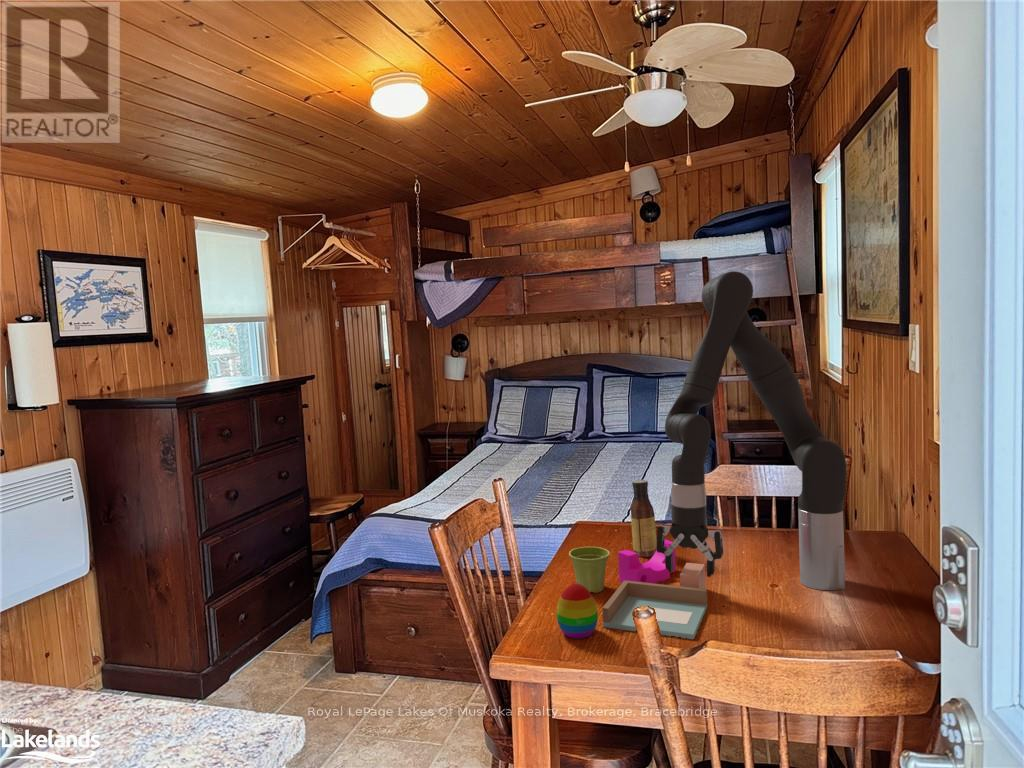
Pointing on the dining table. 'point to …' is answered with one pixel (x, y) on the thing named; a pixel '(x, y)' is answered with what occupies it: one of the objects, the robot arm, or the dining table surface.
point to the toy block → (644, 567)
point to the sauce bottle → (643, 521)
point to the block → (693, 576)
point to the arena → (657, 607)
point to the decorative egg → (577, 612)
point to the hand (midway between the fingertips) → (689, 573)
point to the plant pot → (590, 567)
